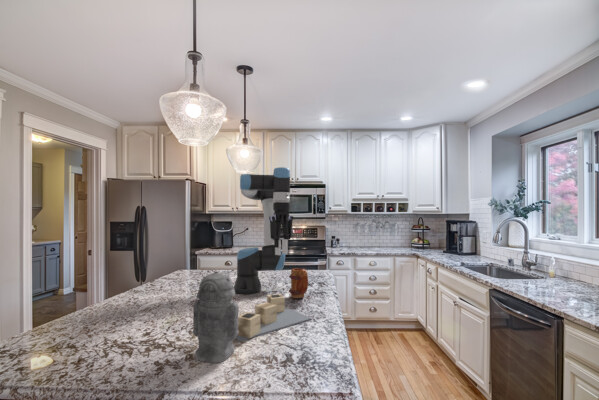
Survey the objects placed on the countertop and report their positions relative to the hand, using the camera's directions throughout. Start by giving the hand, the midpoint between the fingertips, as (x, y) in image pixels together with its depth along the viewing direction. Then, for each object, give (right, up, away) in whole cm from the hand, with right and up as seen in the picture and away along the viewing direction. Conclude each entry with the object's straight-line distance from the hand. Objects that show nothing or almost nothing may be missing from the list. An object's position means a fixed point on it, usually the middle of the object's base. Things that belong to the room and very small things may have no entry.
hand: (281, 254), depth 129 cm
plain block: (-5, -23, -15) cm, 28 cm away
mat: (-6, -24, -15) cm, 29 cm away
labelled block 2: (-2, -24, -3) cm, 24 cm away
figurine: (-18, -23, -41) cm, 50 cm away
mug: (+8, -26, +16) cm, 31 cm away
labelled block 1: (-10, -23, -27) cm, 37 cm away
